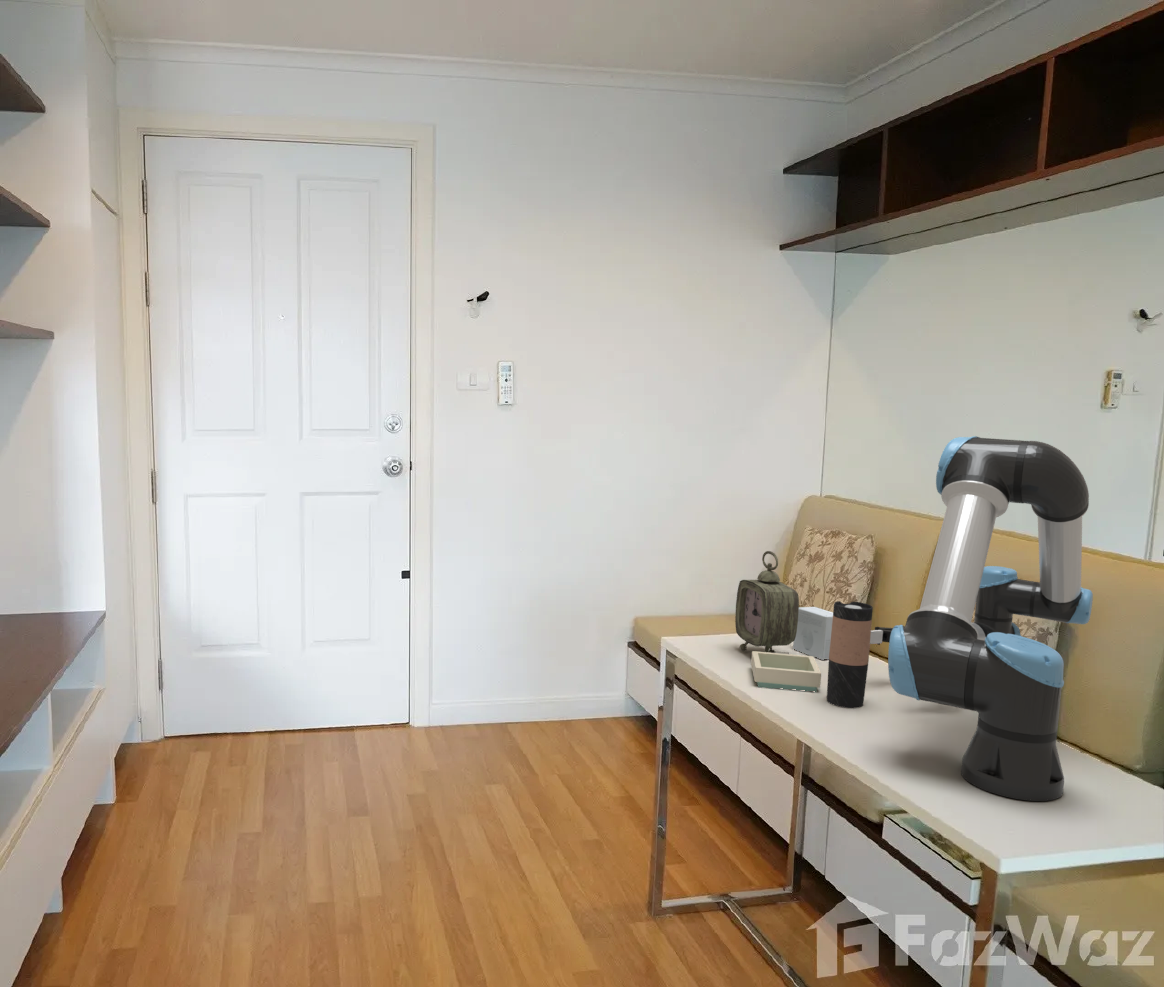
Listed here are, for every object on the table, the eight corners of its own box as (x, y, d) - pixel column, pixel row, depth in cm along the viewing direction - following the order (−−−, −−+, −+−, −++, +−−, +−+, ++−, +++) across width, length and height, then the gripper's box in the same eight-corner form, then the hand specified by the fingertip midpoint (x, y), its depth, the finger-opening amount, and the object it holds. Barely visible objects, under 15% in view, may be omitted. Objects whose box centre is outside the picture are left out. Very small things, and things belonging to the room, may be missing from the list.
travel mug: (856, 711, 184) (865, 611, 182) (819, 702, 189) (827, 604, 187) (870, 702, 190) (879, 605, 188) (834, 693, 195) (842, 598, 193)
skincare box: (842, 658, 223) (846, 615, 222) (822, 661, 220) (825, 617, 219) (811, 647, 232) (815, 605, 231) (791, 649, 229) (795, 607, 228)
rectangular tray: (819, 692, 195) (821, 674, 195) (754, 686, 197) (755, 668, 196) (809, 668, 213) (811, 651, 212) (749, 663, 214) (751, 646, 214)
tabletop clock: (732, 648, 226) (740, 546, 224) (766, 647, 229) (774, 546, 227) (761, 666, 213) (770, 557, 210) (796, 664, 215) (805, 557, 213)
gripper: (1003, 675, 190) (922, 682, 181) (913, 643, 212) (837, 648, 204) (1006, 639, 189) (925, 644, 180) (916, 610, 212) (840, 614, 203)
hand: (879, 646), depth 192 cm, fingers open, 13 cm apart
